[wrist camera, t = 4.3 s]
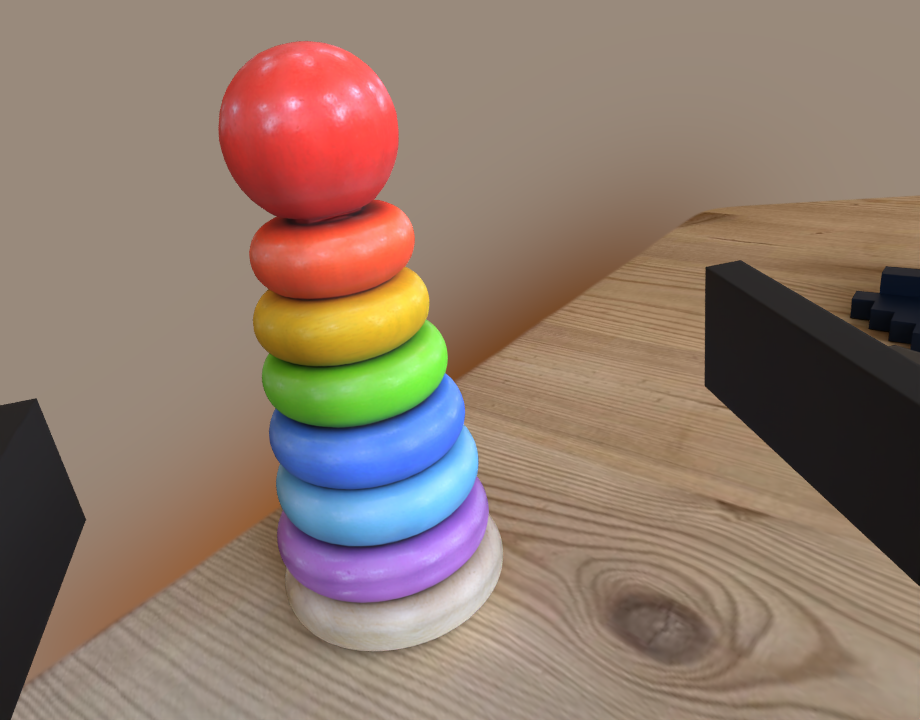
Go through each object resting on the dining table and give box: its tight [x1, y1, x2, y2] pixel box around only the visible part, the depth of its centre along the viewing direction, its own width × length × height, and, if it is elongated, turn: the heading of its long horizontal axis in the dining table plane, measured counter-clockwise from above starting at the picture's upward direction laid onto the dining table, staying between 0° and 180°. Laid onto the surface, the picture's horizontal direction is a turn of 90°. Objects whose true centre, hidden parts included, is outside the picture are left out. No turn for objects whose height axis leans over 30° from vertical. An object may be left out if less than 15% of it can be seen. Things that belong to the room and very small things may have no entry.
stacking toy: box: [219, 41, 503, 651], centre depth 26 cm, size 8×8×19 cm
